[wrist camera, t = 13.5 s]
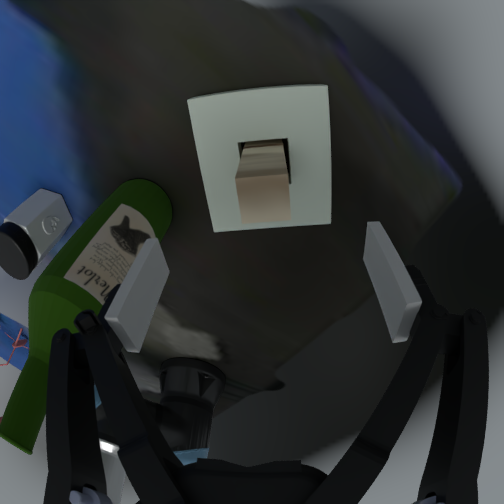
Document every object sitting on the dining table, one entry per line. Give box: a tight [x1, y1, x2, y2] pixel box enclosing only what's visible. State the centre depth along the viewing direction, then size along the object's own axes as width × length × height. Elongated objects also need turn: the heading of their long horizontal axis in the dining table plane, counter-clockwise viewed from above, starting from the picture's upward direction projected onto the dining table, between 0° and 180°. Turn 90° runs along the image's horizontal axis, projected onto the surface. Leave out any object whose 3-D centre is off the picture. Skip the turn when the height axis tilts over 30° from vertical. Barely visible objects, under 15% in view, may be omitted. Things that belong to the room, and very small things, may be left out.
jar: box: [0, 188, 72, 280], centre depth 33 cm, size 9×8×12 cm
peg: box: [235, 138, 291, 224], centre depth 27 cm, size 4×4×12 cm
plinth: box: [187, 84, 331, 232], centre depth 31 cm, size 16×14×3 cm
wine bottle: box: [0, 179, 172, 455], centre depth 24 cm, size 9×9×32 cm
